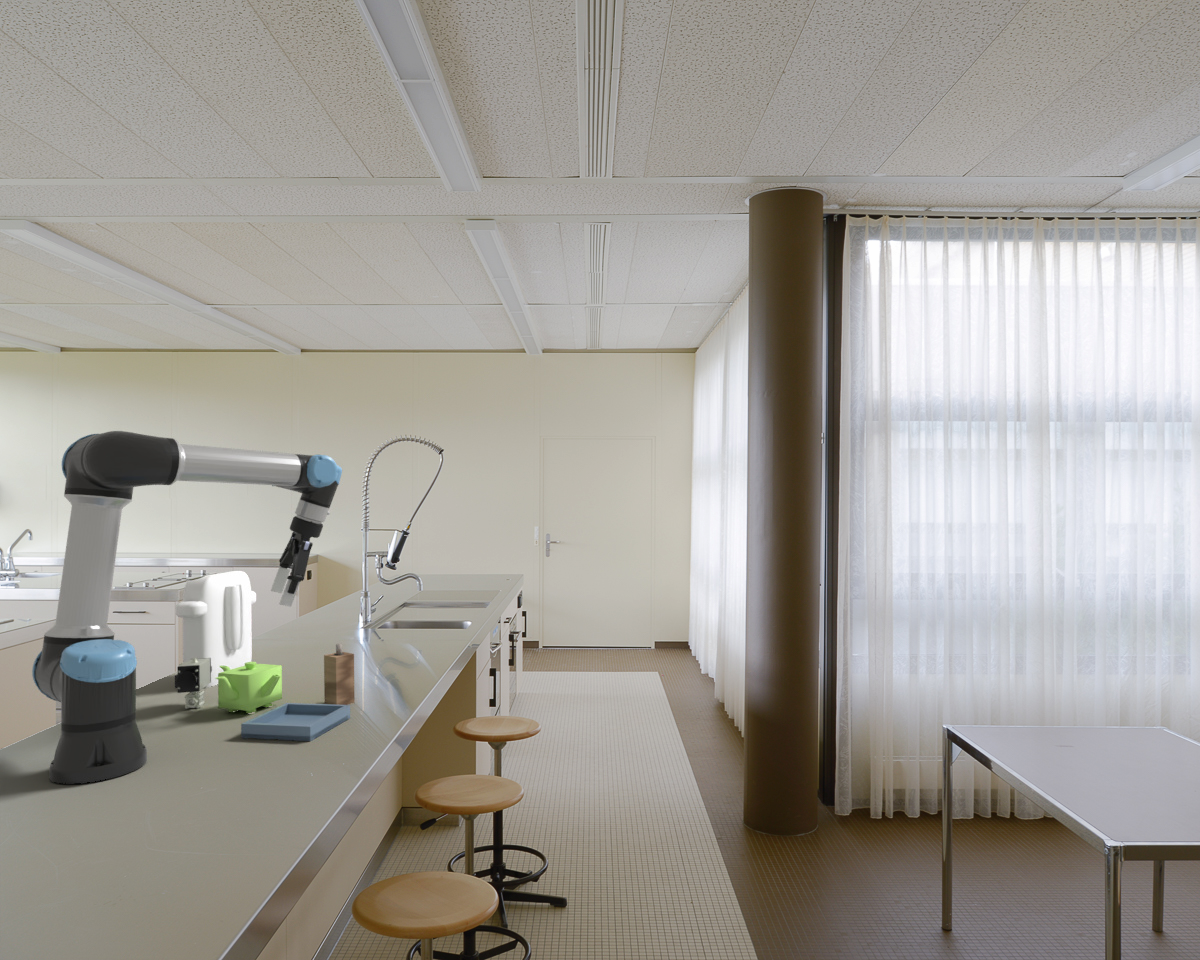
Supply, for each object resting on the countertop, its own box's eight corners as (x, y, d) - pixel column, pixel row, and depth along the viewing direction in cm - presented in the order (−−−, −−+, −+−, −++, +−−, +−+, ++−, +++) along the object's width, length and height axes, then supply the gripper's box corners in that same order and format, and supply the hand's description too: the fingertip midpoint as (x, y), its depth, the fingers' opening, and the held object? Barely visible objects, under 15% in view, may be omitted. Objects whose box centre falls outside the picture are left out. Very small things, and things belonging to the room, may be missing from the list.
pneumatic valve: (212, 699, 186) (212, 652, 187) (197, 712, 175) (196, 662, 175) (189, 701, 185) (188, 653, 186) (171, 714, 174) (171, 663, 174)
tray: (310, 741, 152) (310, 726, 152) (241, 738, 155) (241, 723, 155) (350, 718, 168) (350, 705, 168) (286, 715, 171) (286, 702, 171)
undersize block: (336, 707, 177) (335, 647, 177) (324, 704, 180) (323, 645, 180) (354, 702, 181) (353, 643, 181) (342, 699, 184) (341, 641, 184)
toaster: (208, 692, 193) (207, 578, 194) (170, 691, 195) (169, 578, 196) (270, 668, 220) (269, 568, 221) (236, 668, 222) (235, 568, 223)
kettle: (215, 721, 168) (215, 672, 168) (215, 707, 180) (214, 660, 180) (286, 711, 175) (286, 664, 175) (281, 697, 187) (280, 653, 187)
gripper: (334, 531, 181) (304, 614, 179) (313, 515, 202) (286, 589, 200) (304, 523, 177) (273, 608, 175) (286, 508, 198) (258, 583, 196)
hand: (280, 598), depth 188 cm, fingers open, 13 cm apart
